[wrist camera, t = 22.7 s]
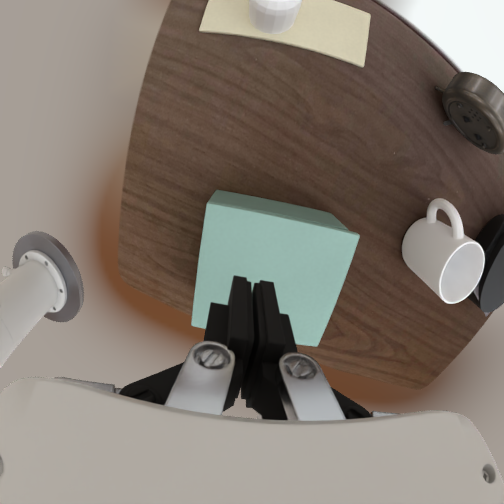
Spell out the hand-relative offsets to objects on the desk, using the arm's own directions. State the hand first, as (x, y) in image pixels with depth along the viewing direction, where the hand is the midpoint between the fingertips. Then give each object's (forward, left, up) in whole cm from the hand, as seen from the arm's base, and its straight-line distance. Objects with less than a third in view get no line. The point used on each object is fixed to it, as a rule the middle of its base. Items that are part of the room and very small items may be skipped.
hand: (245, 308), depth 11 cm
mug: (+25, +1, -23) cm, 34 cm away
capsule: (-2, +23, -22) cm, 32 cm away
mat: (0, +24, -22) cm, 33 cm away
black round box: (+44, +1, -23) cm, 50 cm away
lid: (+4, -7, -15) cm, 17 cm away
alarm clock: (+25, +19, -23) cm, 39 cm away
